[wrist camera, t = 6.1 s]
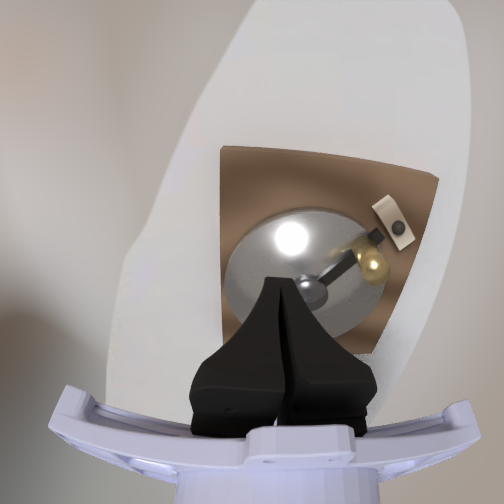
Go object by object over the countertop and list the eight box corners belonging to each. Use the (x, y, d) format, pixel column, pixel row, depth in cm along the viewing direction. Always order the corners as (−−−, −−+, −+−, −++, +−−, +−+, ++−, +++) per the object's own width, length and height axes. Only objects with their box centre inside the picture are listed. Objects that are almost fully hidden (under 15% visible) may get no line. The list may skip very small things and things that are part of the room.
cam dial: (300, 351, 27) (303, 389, 23) (195, 283, 23) (181, 323, 19) (412, 271, 21) (434, 306, 17) (317, 161, 17) (332, 182, 13)
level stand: (368, 343, 29) (375, 366, 26) (225, 339, 29) (221, 363, 26) (429, 173, 18) (451, 186, 15) (223, 145, 18) (214, 155, 16)
